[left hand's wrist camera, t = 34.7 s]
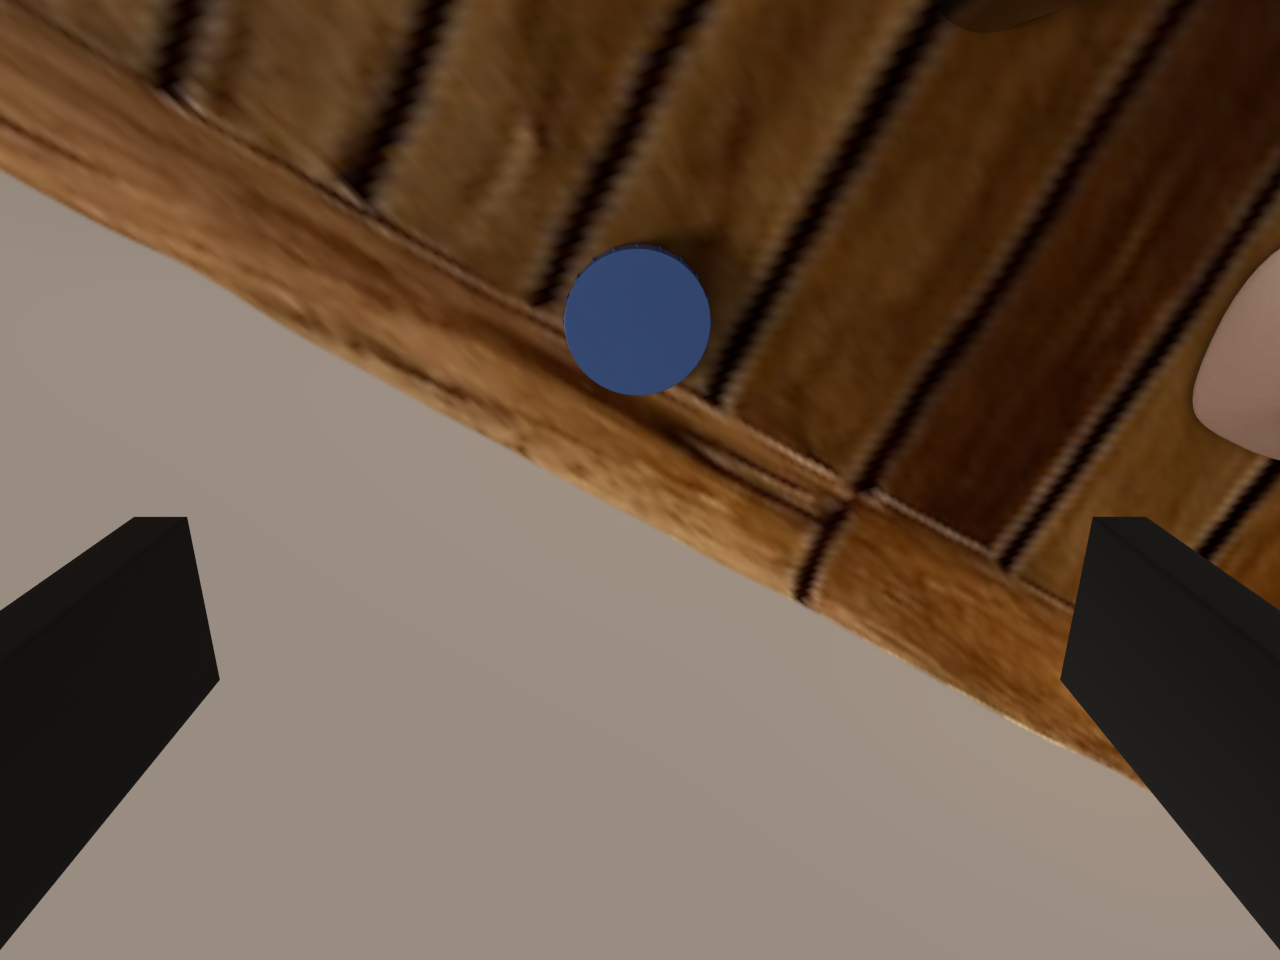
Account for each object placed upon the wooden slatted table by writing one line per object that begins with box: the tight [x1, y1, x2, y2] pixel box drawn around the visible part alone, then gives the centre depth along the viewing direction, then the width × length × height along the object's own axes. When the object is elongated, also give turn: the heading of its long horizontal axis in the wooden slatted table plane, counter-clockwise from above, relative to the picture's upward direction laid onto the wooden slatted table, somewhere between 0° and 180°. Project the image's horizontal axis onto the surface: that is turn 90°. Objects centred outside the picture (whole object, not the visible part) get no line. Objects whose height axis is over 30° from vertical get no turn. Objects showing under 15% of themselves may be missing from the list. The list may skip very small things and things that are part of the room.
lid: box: [563, 242, 712, 395], centre depth 37 cm, size 6×6×2 cm
